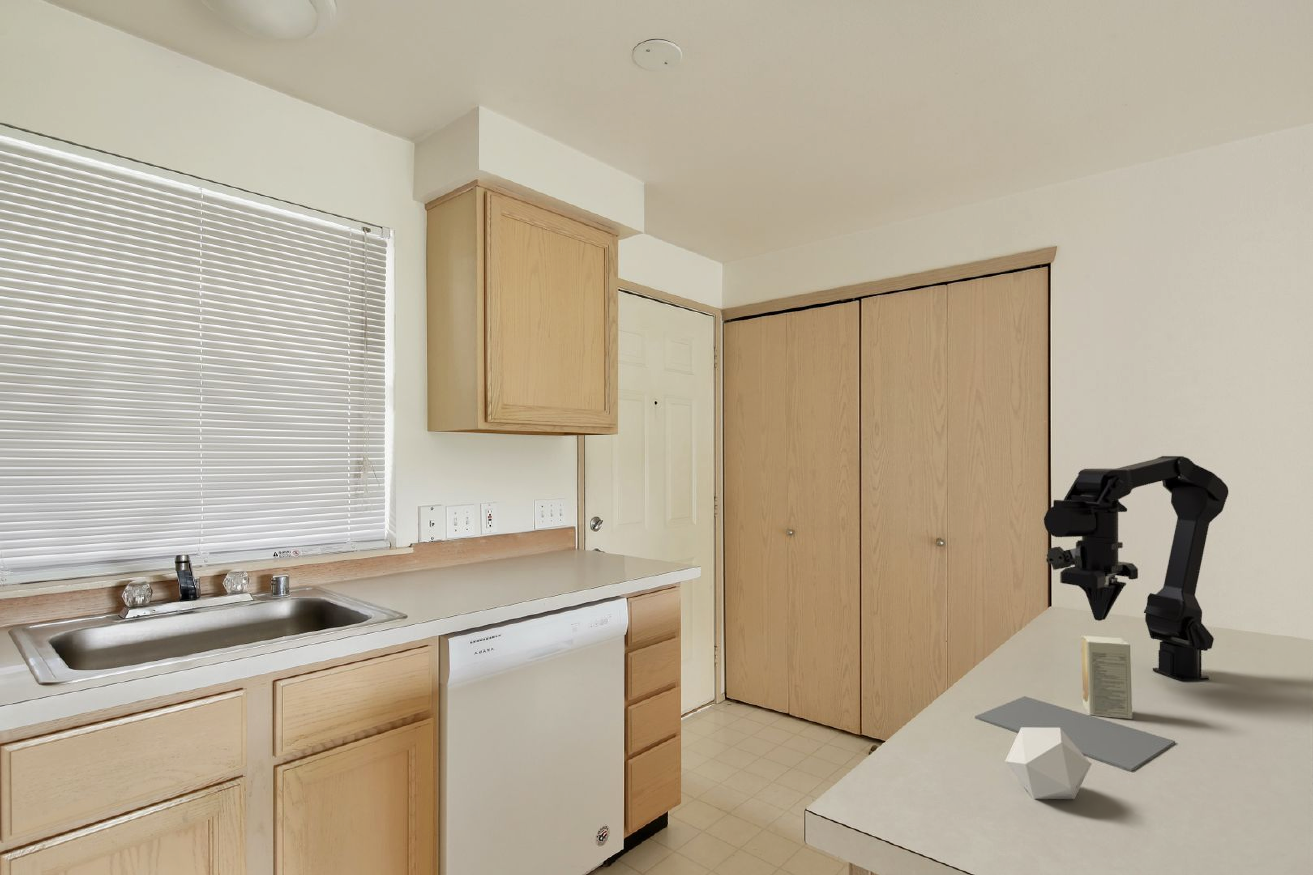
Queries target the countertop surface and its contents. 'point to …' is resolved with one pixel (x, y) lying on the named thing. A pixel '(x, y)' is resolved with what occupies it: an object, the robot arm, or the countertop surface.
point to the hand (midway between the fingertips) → (1099, 619)
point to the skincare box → (1106, 676)
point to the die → (1047, 763)
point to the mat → (1081, 731)
